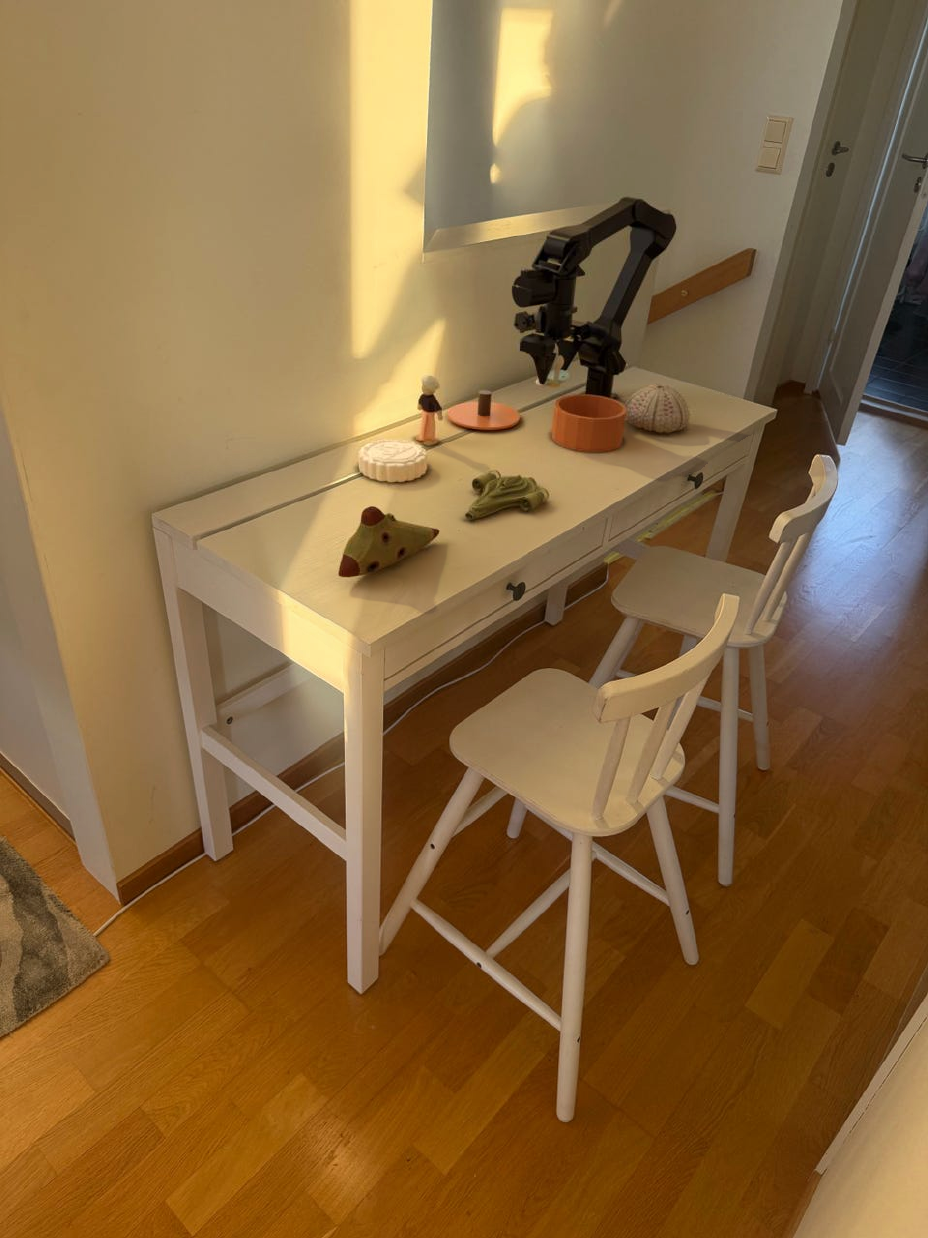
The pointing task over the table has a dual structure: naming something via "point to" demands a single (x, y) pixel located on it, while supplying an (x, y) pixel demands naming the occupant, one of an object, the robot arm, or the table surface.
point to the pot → (588, 422)
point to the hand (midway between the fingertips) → (551, 379)
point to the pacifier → (556, 374)
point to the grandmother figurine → (428, 410)
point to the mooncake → (392, 460)
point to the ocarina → (382, 543)
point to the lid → (483, 414)
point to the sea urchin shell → (657, 409)
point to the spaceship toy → (504, 494)
